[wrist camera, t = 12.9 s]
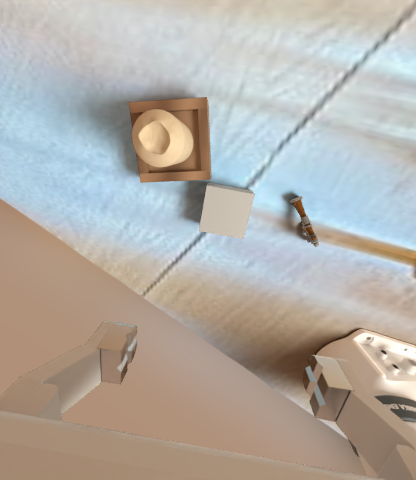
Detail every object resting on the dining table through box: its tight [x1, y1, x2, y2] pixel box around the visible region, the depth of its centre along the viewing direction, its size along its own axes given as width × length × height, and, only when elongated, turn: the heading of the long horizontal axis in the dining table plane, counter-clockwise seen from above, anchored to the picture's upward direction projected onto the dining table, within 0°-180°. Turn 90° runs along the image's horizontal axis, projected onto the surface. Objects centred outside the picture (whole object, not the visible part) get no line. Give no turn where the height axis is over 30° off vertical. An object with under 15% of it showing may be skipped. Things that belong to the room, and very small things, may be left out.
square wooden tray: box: [129, 97, 211, 182], centre depth 32 cm, size 10×10×4 cm
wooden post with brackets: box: [289, 196, 319, 247], centre depth 36 cm, size 2×8×4 cm, turn 25°
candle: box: [132, 109, 193, 167], centre depth 27 cm, size 6×6×10 cm
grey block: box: [199, 182, 255, 239], centre depth 36 cm, size 7×7×4 cm
